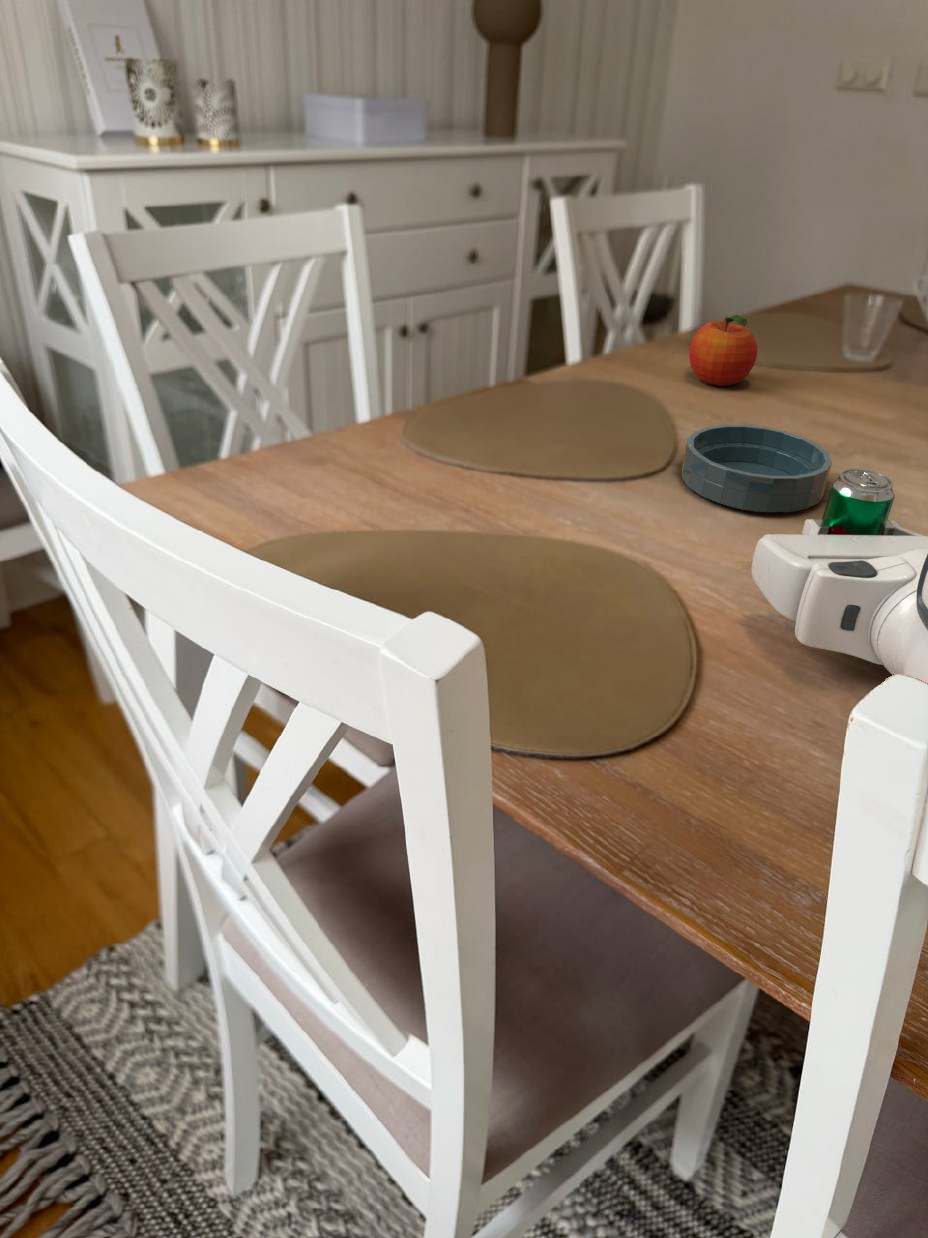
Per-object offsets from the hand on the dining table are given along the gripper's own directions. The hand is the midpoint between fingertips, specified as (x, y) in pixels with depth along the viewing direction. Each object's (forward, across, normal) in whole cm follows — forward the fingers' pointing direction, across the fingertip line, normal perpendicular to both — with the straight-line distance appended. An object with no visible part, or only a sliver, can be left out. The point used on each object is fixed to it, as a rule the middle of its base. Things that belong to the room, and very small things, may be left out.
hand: (846, 527), depth 83 cm
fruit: (+61, -7, +7) cm, 62 cm away
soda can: (-1, 0, +7) cm, 7 cm away
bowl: (+24, 0, +7) cm, 25 cm away
